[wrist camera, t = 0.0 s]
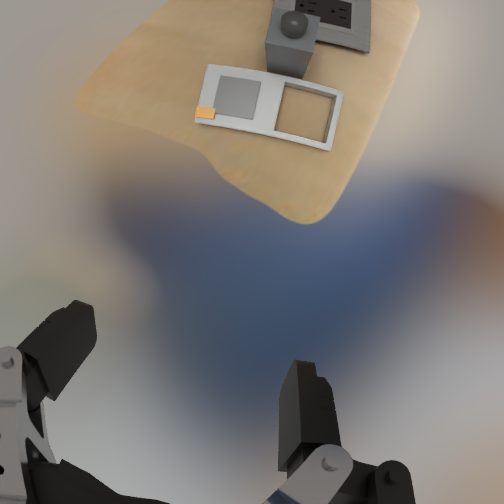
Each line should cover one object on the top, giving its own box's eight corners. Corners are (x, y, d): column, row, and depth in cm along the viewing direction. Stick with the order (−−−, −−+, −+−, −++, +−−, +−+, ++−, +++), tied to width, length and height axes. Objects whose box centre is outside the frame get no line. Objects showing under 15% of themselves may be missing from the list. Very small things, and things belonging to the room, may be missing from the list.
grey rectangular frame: (212, 68, 31) (207, 62, 28) (339, 95, 31) (344, 91, 28) (199, 123, 34) (193, 121, 31) (326, 151, 34) (331, 151, 31)
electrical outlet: (269, 38, 29) (269, 31, 27) (277, -17, 25) (277, -24, 23) (364, 56, 29) (370, 51, 26) (366, 1, 25) (371, -5, 23)
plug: (274, 43, 29) (274, -2, 17) (308, 50, 29) (323, 8, 17) (267, 71, 31) (264, 35, 19) (301, 79, 31) (315, 46, 19)
